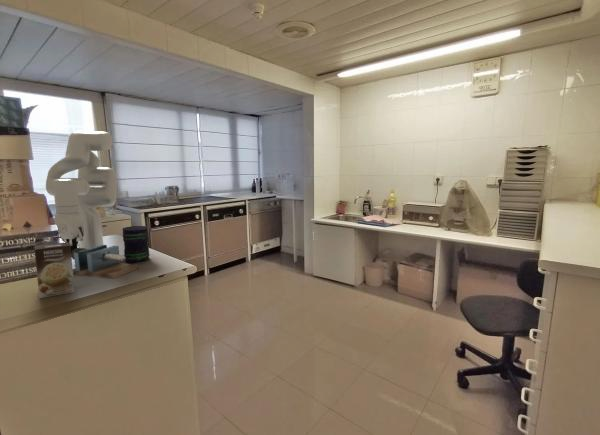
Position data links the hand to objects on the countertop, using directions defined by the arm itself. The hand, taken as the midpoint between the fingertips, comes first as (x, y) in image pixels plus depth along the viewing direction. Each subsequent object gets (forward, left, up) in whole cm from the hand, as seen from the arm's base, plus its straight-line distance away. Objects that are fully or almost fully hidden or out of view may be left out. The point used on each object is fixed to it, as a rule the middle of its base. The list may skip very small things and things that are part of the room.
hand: (72, 254), depth 121 cm
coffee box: (+18, -21, -6) cm, 28 cm away
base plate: (+15, 0, -6) cm, 16 cm away
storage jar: (+17, +15, -6) cm, 24 cm away
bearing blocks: (+12, 0, -4) cm, 13 cm away
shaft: (+13, 0, -2) cm, 13 cm away
